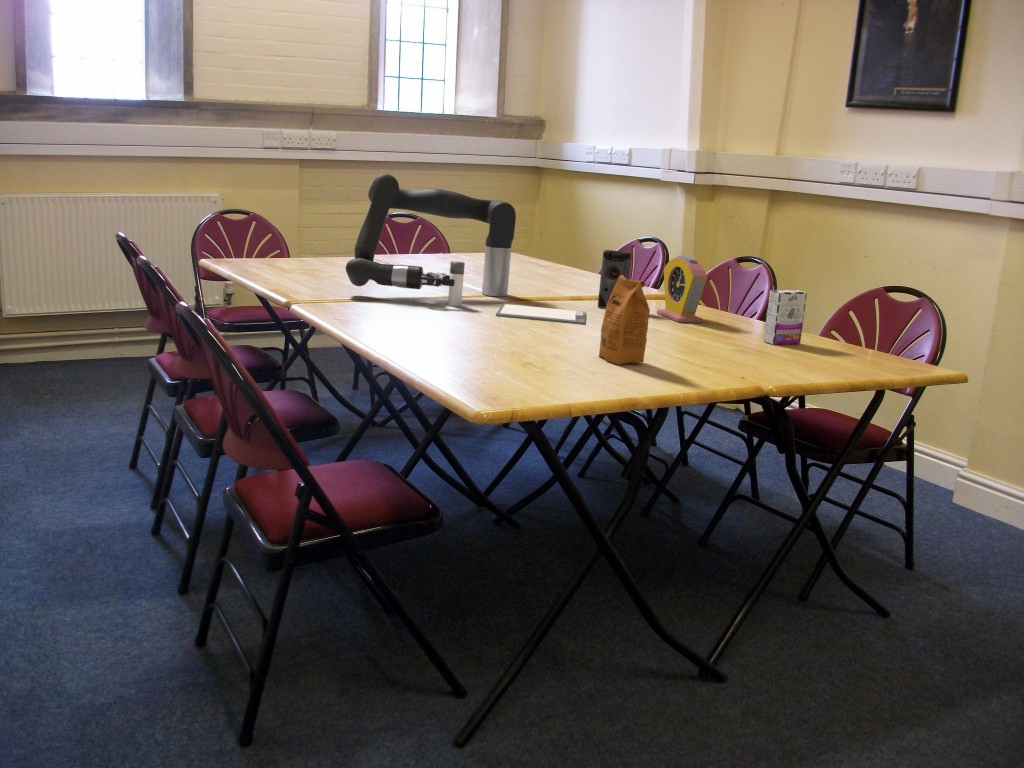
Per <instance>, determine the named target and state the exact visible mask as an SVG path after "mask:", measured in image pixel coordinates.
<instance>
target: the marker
mask: <svg viewBox="0 0 1024 768" xmlns="http://www.w3.org/2000/svg"><path fill="white" fill-rule="evenodd" d="M449 265H450V267H449V275H450V279H454V286H448V298H447V299H448V300H447V306H449V307H457V308H459V307H462V303H463V302H462V301H463V300H462V299H463V290H464V289H463V286H464V275H465V262H464V261H457V260H456V261H454V260H453V261H450V264H449Z"/></svg>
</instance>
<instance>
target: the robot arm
mask: <svg viewBox="0 0 1024 768" xmlns="http://www.w3.org/2000/svg"><path fill="white" fill-rule="evenodd" d="M367 195H368V199H369V201H370V202H371V203H370V205H369V209H368V212H367V213H366V217H365V219H364V221H363V224H362V226H361V227H360V230H359V233H358V235H357V240H356V243H355V246H354V258H352V259H350V260H349V261H348V262H347V263H346V266H345V273H346V274H347V275H346V276H347V277H348V280H349V281H350V282H351V284H352V285H353V286H355V287H363V286H365V285H366V284H368V282H369V281H374V282H375V283H376V284H377V285H378V286H379V285H380V286H387V287H388V286H389V287H395V288H401V289H408V290H409V289H412V290H421V289H422V287H423V286H428V287H442V286H445V287H449V286H454V279H450V274H446V273H445V272H444V273H443V272H442V273H441V272H440V273H439V272H432V271H427V273H424V269H423V267H422V266H421V265H420V266H419V265H411V264H410V265H408V264H389V263H380V262H376V261H374V260H375V254H376V253H377V250H378V246H379V243H380V240H381V236H382V232H383V229H384V225H385V223H386V219H387V216H388V213H389V210H390V209H393V210H394V209H395V210H404V211H411V212H416V213H421V214H427V215H432V216H436V217H440V218H449V219H458V220H459V219H461V220H462V219H464V220H466V219H470V220H474V221H480V222H481V223H482V222H483V223H486V224H488V225H489V229H488V234H487V236H486V238H485V248H484V250H485V251H484V259H483V260H484V263H483V275H482V286H481V287H482V289H481V294H482V295H484V296H485V295H486V296H490V297H491V296H492V297H507V296H508V292H509V279H510V269H511V268H510V266H511V255H512V253H511V252H512V245H513V241H514V238H515V230H516V221H517V219H516V217H517V213H516V210H515V209H516V208H514V206H513V205H512V204H511V203H510V202H507V201H504V200H492V199H479V198H475V197H470V196H469V195H465V194H463V193H459V192H456V191H451V190H447V189H441V188H424V189H423V188H421V189H413V190H412V189H410V190H409V189H405V188H400V184H399V182H398V180H397V178H396V177H395V176H393V175H392V174H390V173H382V174H379V175H377V177H375V178H374V180H373V181H372V183H371V186H370V188H369V189H368V193H367Z"/></svg>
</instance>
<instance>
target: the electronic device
mask: <svg viewBox="0 0 1024 768" xmlns="http://www.w3.org/2000/svg"><path fill="white" fill-rule="evenodd" d="M631 259H632V252H629V251H621V250H613V249H612V250H611V249H605V250H603V252H602V260H601V270H600V279H599V290H598V300H597V308H598V309H603V310H606V306H607V303H608V300H609V298H610V295H611V293H612V291H613V289H614V286H615V285H616V283H617V281H618V278H619V276H620V275H623V276H624V277H625V278H626V279H627V280H628V279H629V280H630V274H631V262H632V261H631Z"/></svg>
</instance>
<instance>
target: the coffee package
mask: <svg viewBox="0 0 1024 768" xmlns="http://www.w3.org/2000/svg"><path fill="white" fill-rule="evenodd" d="M645 286H646V284H645V282H644V281H643V280H636V279H630V278H629V279H628V280H627V279H626V278H625V277H624V276H623V275H620V276H619V278H618V281H617V283H616V285H615V286H614V289H613V291H612V293H611V295H610V298H609V300H608V303H607V306H606V309H604V315H603V318H602V319H603V320H602V324H601V328H600V343H599V352H598V353H599V354H598V358H602V359H604V360H605V361H606V362H607V363H611V364H615V365H619V366H621V365H622V366H623V365H627V364H639V363H644V360H645V353H646V346H647V341H648V340H647V336H648V335H647V333H648V331H649V330H648V328H649V318H650V311H651V309H650V307H649V306H650V305H649V303H648V300H647V298H646V296H645V294H644V290H643V287H644V288H645Z"/></svg>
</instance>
